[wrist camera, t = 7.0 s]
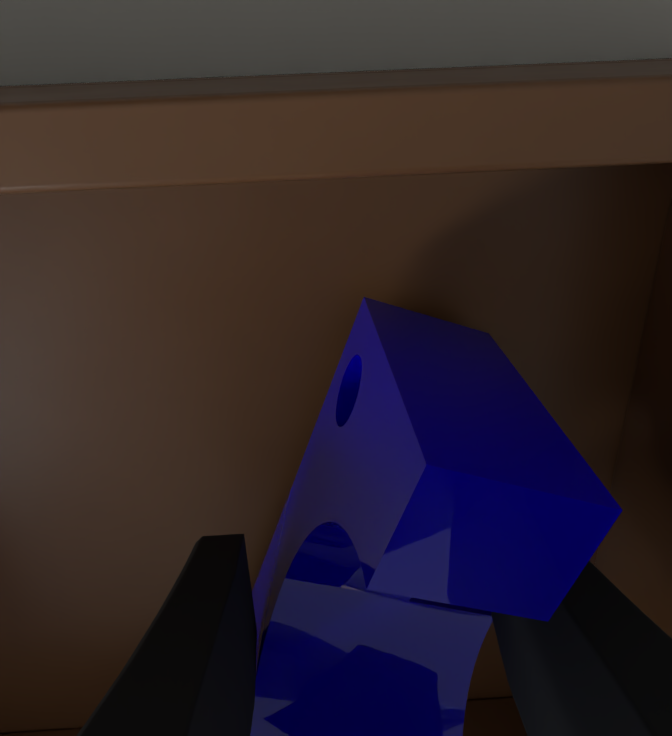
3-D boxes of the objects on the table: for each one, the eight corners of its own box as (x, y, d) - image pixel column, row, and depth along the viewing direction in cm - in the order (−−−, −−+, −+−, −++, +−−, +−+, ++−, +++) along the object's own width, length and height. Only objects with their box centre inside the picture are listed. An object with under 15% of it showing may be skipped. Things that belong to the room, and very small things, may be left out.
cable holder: (389, 691, 13) (434, 934, 9) (222, 668, 12) (204, 925, 9) (575, 358, 10) (750, 539, 6) (364, 296, 9) (426, 463, 5)
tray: (-75, 734, 15) (-172, 914, 12) (-420, 103, 8) (-825, 138, 5) (586, 687, 15) (658, 848, 12) (730, 55, 9) (954, 61, 6)
